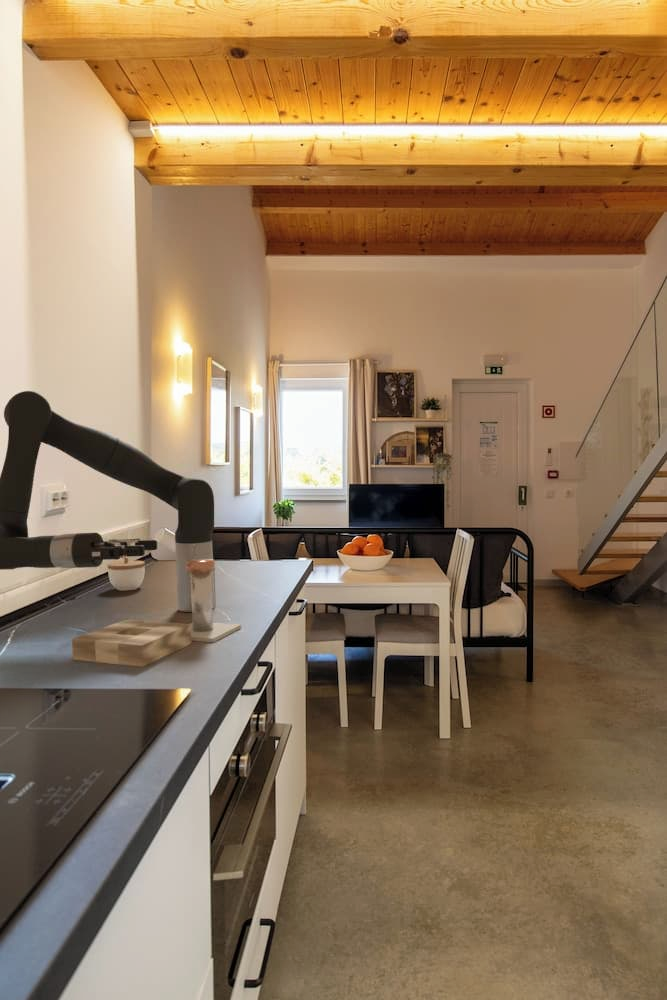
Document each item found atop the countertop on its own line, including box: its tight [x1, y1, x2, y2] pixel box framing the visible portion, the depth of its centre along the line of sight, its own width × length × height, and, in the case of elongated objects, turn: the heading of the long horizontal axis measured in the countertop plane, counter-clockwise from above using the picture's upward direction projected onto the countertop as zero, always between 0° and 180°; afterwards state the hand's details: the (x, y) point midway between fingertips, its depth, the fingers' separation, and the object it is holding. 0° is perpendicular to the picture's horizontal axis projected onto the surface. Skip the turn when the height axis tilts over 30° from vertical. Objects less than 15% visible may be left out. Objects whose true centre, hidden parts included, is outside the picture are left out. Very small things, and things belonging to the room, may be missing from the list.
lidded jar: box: [107, 557, 146, 592], centre depth 198 cm, size 11×11×9 cm
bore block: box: [71, 619, 192, 668], centre depth 130 cm, size 16×16×4 cm
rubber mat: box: [189, 622, 242, 643], centre depth 143 cm, size 12×12×1 cm
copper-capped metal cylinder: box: [186, 558, 216, 632], centre depth 143 cm, size 6×6×15 cm
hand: (150, 547), depth 143 cm, fingers open, 8 cm apart
